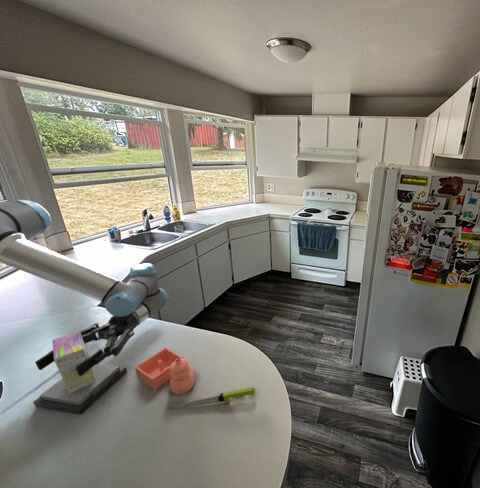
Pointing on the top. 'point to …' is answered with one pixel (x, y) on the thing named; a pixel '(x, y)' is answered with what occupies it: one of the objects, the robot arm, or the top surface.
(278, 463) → the top surface
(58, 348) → the box
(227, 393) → the kitchen knife
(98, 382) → the scale
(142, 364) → the pottery
